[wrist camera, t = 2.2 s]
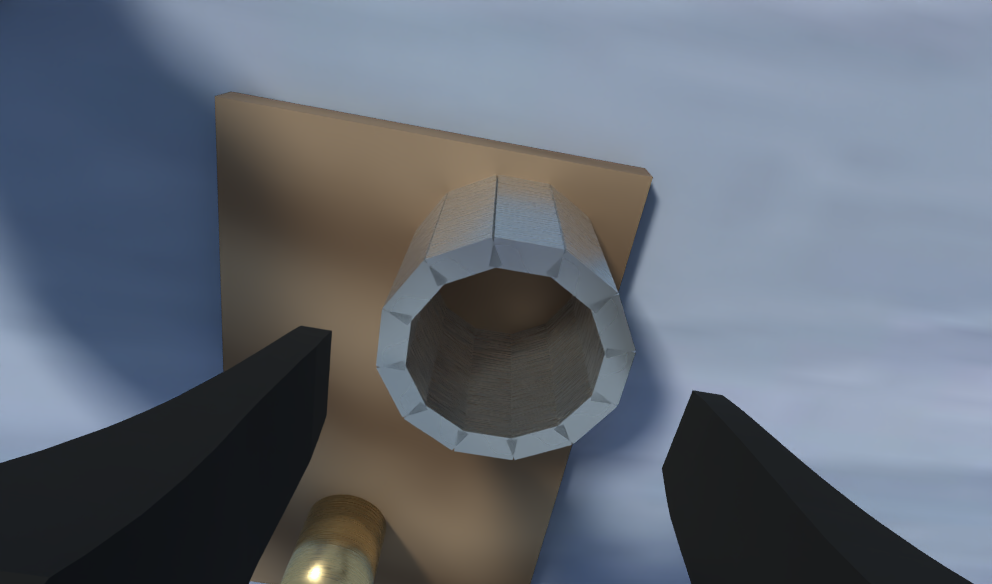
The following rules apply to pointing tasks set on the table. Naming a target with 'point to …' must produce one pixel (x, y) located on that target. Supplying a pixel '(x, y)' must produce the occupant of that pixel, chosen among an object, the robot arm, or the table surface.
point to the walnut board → (357, 316)
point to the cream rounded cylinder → (338, 543)
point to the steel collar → (495, 355)
